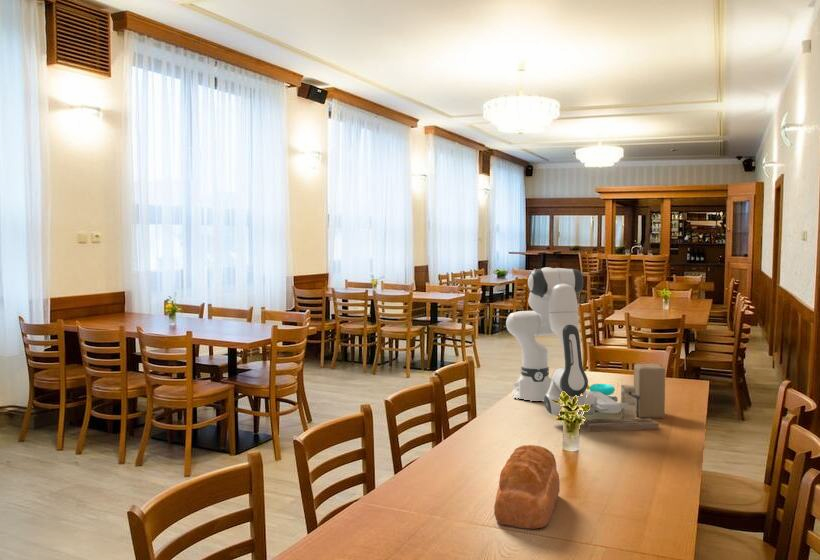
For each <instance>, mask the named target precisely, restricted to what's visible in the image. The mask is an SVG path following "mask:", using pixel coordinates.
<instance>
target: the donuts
mask: <svg viewBox="0 0 820 560" xmlns="http://www.w3.org/2000/svg"><path fill="white" fill-rule="evenodd" d="M589 391H596V392H601V393H603V394H604V395H607V396H612V395H613V394H614V393H615V391H616V388H615V387H614V386H613V385H611V384H608V383H594V384H591V385H590V386H589Z"/></svg>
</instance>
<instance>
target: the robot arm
mask: <svg viewBox="0 0 820 560" xmlns="http://www.w3.org/2000/svg"><path fill="white" fill-rule="evenodd" d="M527 287H528V290H529V296H528V298H527V302H528V306H529V307H530V308H531V309H532V310H520V311H514V312H511V313H509V314H508V315H507V318H506V320H505V326H506V329H507V331H508V333H509V334H510V335H512V336H513V337H514V338H515V339H516V340H517V342H518V344H519V345H520V350H521V357H522V358H521V359H522V363H521V364H522V365H521V368H520V376H519V377H518V379H517V381H514V383H513V386H514V388H515V389H512V395H513V394H514V393H515V392H516V393H515V394H514V397H515V398H520V399H524V400H530V401H529V402H532V401H542V402H544V405H545V409H546V410H547V412H548V413H549V414H551V415H554V416H559V415H558V414H559V411H560V410H561V409H562V406H560V405H558V404H556V403H554V402H553V401H552V400H555V401H560V399H559V396H560V394H561V392H562V391H565V392H566V393H567V394H568V395H569V396H570V399H571V400H572V399H573V397H574V396H575V395H577V396H579V397H578V401H577V403H578V405H584V404H589V405H590V410H589V411H588V412H584V415H583V416H587V415H588V416H590V415H594V414H595V412H599V413H601V414H619V413H620V414H621V409H622V408H627V407H628V403H626V402H622V403H621V402H618V400H619V399H618V396H615V395H604V394H603V393H601V392H596V391H590V390H588V392H587V389H588V386H589V379H588V376H587V375H586V372H585V370H584V367H583V360H582V348H581V339H580V332H579V331H580V330H579V307H578V305H579V303H578V299H577V295H578V294H580V293H581V291H582V290H583V288H584V276H583V274H582V272H581V271H580V270H578V269H577V268H561V267H555V268H553V267H548V266H547V267H546V266H545V267H542V268H537V269H533V270H531V271H530V273H529V274H528V279H527ZM552 335H556V336H557V338H558V339H559V341H560V342H561V345H562V350H563V351H562V353H563V361H564V367H559V368H557V369H555V370H553V373H552V375H551V377H549V374H550V367H549V366H548V365H549V363H548V361H549V359H548V358H549V352H548V349H547V348H546V346H545V345H543V344H541V343H539V342H538V341H536V337H537V336H552ZM516 389H517V391H518V392H517V391H516ZM581 393H582V394H583V396H580V394H581ZM587 394H588V397H587V398H586V395H587ZM514 397H513V398H514ZM524 400H523V401H524ZM543 400H544V401H543ZM581 412H582V410H579V412H578V414H581Z"/></svg>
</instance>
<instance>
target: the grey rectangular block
mask: <svg viewBox="0 0 820 560" xmlns="http://www.w3.org/2000/svg"><path fill="white" fill-rule="evenodd" d="M633 386H635V387H636V391H635V394H636V395H638V396H640V399H639V417H638V418H640V417H641V418H640V419H663V418H665V415H666V414H665V409H666V406H665V402H666V398H665V397H666V391H665V390H666V369H665V367H663V366H662V365H660V364H658V363H634V365H633ZM636 410H637V399H636V398H635V414H636Z"/></svg>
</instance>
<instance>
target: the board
mask: <svg viewBox="0 0 820 560" xmlns="http://www.w3.org/2000/svg"><path fill="white" fill-rule="evenodd" d="M659 425H660V424H659V422H656V421H655V420H653V418H635V419H626V420H621V419H607V420H606V419H605V420H602V419H601V420H600V419H599V420H598V419H597V420H583V427H584V428H586V429H587V430H588V431H589V432H610V431H612V432H613V431H639V430H640V431H641V430H642V429H645V430H659V428H660V426H659ZM642 431H643V430H642Z"/></svg>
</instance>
